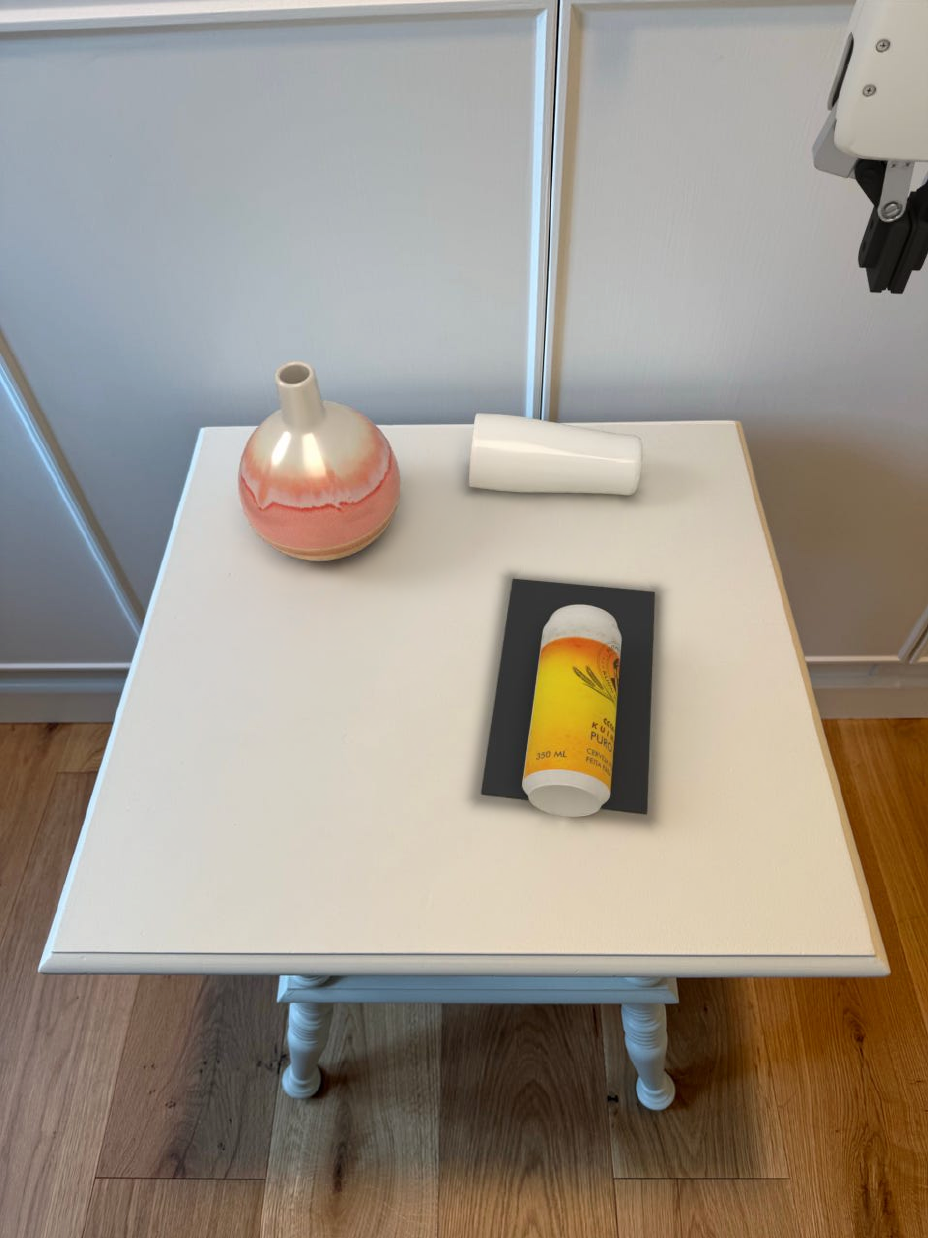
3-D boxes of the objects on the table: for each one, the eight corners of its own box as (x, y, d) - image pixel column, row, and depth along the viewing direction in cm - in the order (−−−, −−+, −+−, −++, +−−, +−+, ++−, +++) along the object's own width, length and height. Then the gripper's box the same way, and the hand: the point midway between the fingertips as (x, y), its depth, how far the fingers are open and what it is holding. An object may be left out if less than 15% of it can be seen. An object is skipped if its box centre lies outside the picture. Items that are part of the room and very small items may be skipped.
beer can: (607, 784, 60) (621, 602, 69) (515, 778, 62) (540, 600, 70) (611, 823, 65) (623, 648, 74) (526, 816, 66) (548, 645, 75)
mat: (654, 594, 78) (655, 591, 77) (646, 814, 66) (647, 812, 66) (512, 581, 79) (512, 578, 79) (481, 794, 68) (481, 792, 67)
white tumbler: (646, 460, 78) (470, 443, 78) (632, 519, 83) (467, 502, 84) (644, 412, 82) (478, 396, 83) (631, 471, 87) (474, 455, 88)
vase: (375, 456, 88) (350, 297, 74) (429, 556, 81) (412, 401, 67) (237, 502, 86) (183, 345, 71) (280, 610, 78) (229, 459, 64)
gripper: (1227, -184, 36) (1015, 245, 51) (831, -184, 38) (738, 231, 53) (1299, -117, 32) (1044, 330, 47) (848, -120, 33) (742, 312, 48)
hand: (882, 277), depth 49 cm, fingers closed
